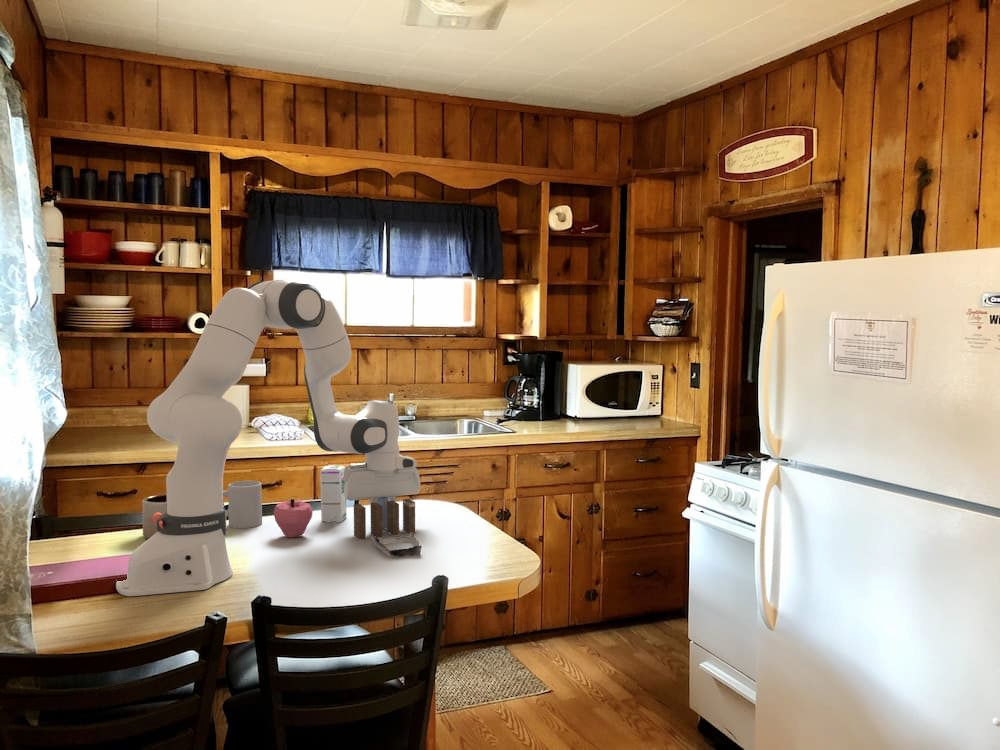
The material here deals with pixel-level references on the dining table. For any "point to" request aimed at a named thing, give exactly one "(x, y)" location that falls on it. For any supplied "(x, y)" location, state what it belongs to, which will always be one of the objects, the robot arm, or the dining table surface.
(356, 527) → the domino
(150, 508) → the planter
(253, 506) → the mug
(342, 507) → the syrup box
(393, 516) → the domino
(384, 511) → the domino
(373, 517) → the domino
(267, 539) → the dining table surface
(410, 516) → the domino
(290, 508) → the apple
